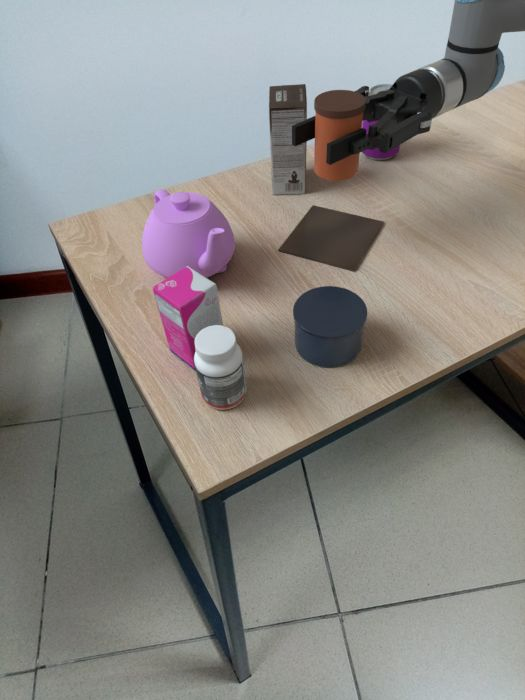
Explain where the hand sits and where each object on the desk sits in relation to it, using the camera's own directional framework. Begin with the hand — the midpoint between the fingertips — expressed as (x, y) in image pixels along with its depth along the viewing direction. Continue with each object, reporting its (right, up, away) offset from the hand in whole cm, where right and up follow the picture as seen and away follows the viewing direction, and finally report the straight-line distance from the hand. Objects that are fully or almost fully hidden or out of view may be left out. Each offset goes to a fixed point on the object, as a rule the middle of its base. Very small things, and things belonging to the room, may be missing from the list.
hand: (310, 145), depth 72 cm
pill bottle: (-11, -33, -5) cm, 36 cm away
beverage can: (+17, +12, +34) cm, 40 cm away
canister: (+4, -1, +6) cm, 7 cm away
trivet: (+5, -9, +16) cm, 19 cm away
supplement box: (-15, -28, 0) cm, 32 cm away
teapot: (-17, -15, +12) cm, 26 cm away
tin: (+2, -27, 0) cm, 27 cm away
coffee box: (-2, +4, +28) cm, 29 cm away
